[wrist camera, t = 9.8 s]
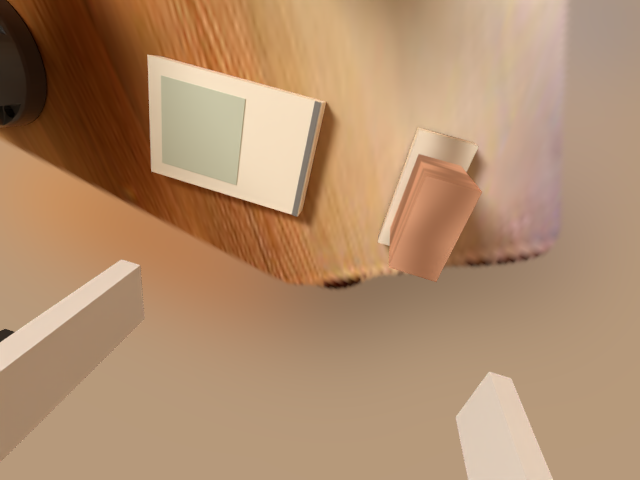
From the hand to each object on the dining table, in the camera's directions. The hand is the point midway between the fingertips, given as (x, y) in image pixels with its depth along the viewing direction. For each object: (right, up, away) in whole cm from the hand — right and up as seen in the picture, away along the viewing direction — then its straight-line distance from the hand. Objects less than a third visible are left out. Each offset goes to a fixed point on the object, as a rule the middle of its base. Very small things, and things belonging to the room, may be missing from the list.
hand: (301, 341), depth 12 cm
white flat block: (-9, +15, +23) cm, 29 cm away
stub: (+11, +9, +21) cm, 25 cm away
